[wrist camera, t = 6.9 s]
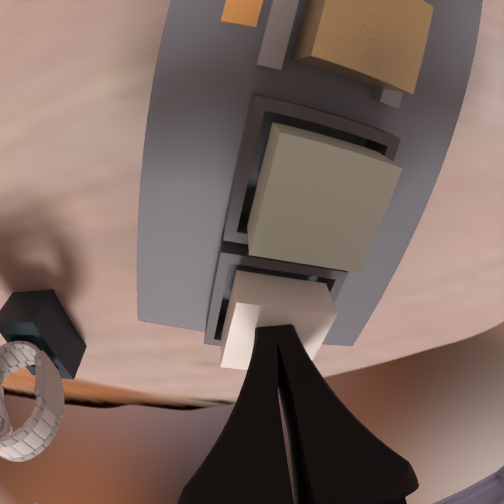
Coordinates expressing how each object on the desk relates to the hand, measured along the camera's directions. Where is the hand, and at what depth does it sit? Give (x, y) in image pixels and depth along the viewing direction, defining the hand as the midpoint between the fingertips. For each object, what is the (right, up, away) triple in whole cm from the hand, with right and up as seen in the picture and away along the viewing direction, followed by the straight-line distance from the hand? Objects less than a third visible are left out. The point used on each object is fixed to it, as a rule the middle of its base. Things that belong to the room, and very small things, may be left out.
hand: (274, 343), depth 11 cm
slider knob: (+2, +11, -3) cm, 11 cm away
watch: (-16, -2, +7) cm, 17 cm away
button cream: (0, +1, +2) cm, 2 cm away
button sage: (+1, +6, -1) cm, 6 cm away
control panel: (+1, +10, +1) cm, 10 cm away
